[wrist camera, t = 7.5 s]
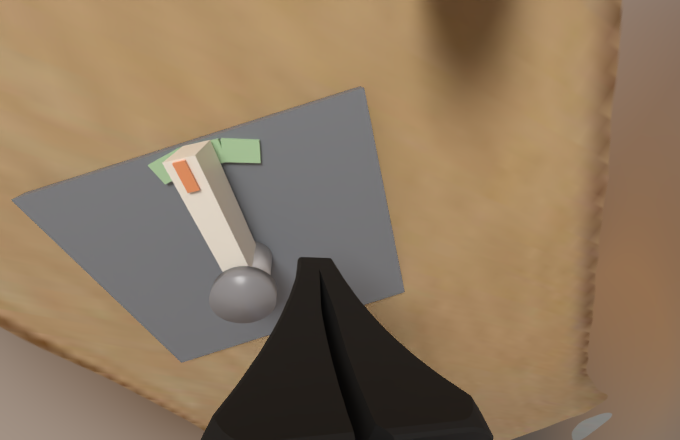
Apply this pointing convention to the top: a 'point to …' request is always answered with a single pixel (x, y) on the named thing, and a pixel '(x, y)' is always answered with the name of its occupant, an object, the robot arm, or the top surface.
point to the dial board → (257, 208)
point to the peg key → (224, 235)
